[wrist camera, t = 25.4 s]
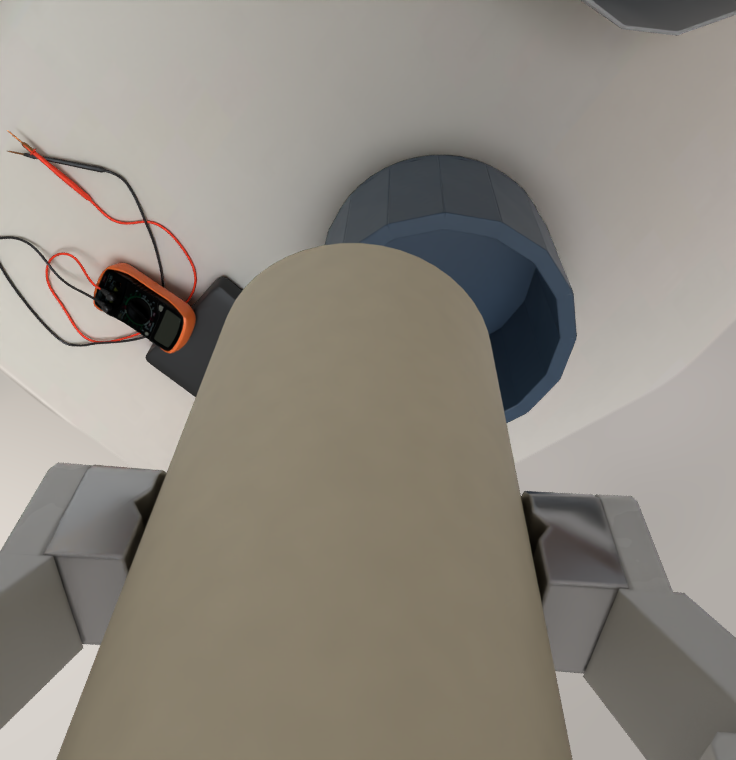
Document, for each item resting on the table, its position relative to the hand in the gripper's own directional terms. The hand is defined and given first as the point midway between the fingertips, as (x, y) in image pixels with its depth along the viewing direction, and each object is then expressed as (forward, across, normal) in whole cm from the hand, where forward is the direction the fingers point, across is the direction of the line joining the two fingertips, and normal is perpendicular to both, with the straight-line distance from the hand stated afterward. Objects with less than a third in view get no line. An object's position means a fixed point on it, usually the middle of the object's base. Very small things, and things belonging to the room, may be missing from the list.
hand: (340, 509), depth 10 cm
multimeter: (+30, +15, +13) cm, 36 cm away
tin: (+29, -4, +10) cm, 31 cm away
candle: (+4, 0, 0) cm, 4 cm away
